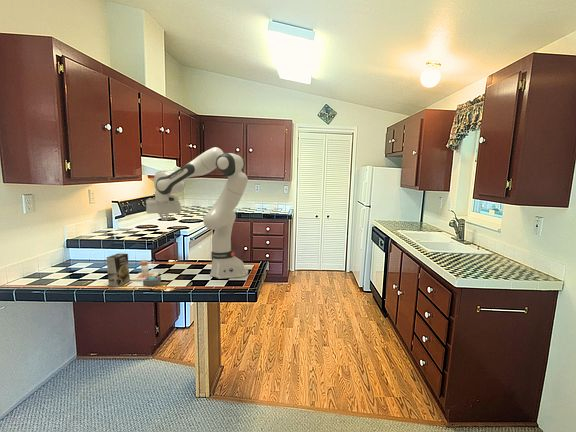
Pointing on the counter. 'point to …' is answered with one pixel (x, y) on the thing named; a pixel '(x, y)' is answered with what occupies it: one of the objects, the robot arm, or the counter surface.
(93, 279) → the counter surface
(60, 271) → the counter surface
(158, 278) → the button housing
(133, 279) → the picture board
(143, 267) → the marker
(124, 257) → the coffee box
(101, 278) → the counter surface
